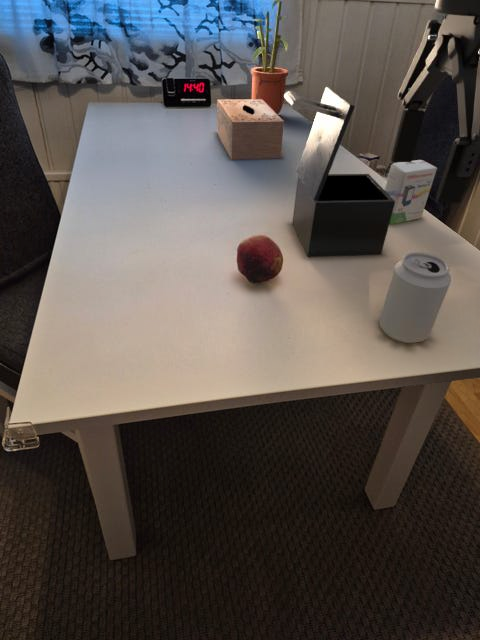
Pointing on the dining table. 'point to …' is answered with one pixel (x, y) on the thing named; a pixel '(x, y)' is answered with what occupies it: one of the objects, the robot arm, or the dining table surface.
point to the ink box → (409, 189)
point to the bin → (343, 216)
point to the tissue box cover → (249, 129)
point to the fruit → (259, 259)
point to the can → (415, 297)
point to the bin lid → (321, 136)
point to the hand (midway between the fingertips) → (422, 179)
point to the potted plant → (269, 68)
